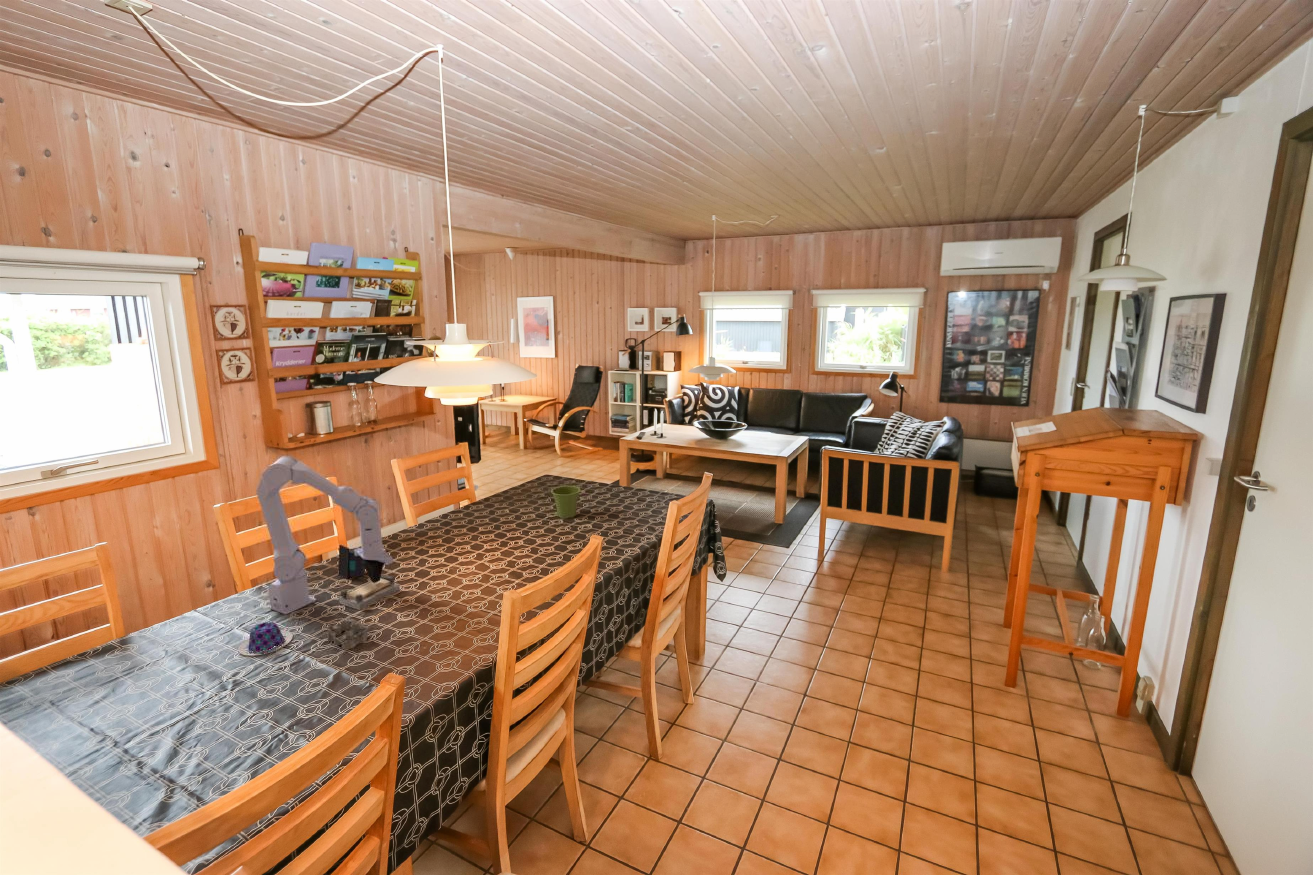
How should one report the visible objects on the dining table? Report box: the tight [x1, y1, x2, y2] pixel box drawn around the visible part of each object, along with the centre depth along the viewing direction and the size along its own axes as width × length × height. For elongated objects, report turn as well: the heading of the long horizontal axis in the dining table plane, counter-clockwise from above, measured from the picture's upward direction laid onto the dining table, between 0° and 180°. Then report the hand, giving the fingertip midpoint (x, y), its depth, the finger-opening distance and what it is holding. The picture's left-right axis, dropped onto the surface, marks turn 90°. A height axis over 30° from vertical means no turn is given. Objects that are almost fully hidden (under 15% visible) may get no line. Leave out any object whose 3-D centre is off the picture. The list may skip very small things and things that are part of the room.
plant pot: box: [550, 485, 581, 519], centre depth 251 cm, size 12×12×11 cm
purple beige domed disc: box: [238, 621, 293, 657], centre depth 158 cm, size 12×12×5 cm
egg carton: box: [323, 618, 370, 650], centre depth 161 cm, size 11×8×4 cm
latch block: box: [338, 573, 401, 611], centre depth 183 cm, size 14×9×4 cm, turn 153°
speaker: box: [338, 544, 366, 581], centre depth 197 cm, size 8×6×10 cm
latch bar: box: [346, 578, 391, 600], centre depth 183 cm, size 12×5×1 cm, turn 153°
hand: (375, 581), depth 185 cm, fingers closed
